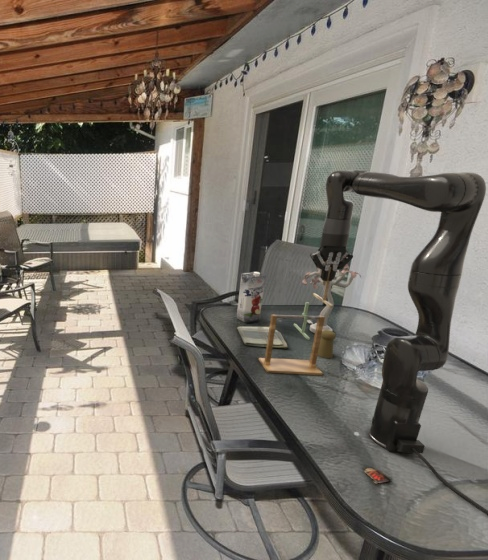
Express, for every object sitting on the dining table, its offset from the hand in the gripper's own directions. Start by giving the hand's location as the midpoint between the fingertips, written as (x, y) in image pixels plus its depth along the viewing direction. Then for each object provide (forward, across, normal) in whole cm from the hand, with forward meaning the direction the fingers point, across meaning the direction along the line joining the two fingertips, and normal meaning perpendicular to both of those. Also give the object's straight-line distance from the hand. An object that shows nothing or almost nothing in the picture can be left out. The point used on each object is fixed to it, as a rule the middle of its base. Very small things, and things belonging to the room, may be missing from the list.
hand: (326, 280), depth 124 cm
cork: (+39, +15, +18) cm, 46 cm away
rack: (+39, -4, +7) cm, 40 cm away
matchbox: (+39, -6, -47) cm, 62 cm away
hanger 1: (+17, -2, +7) cm, 18 cm away
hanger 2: (+1, 0, 0) cm, 1 cm away
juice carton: (+39, -4, +55) cm, 67 cm away
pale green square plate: (+39, -6, +32) cm, 51 cm away
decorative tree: (+39, +25, +44) cm, 64 cm away
